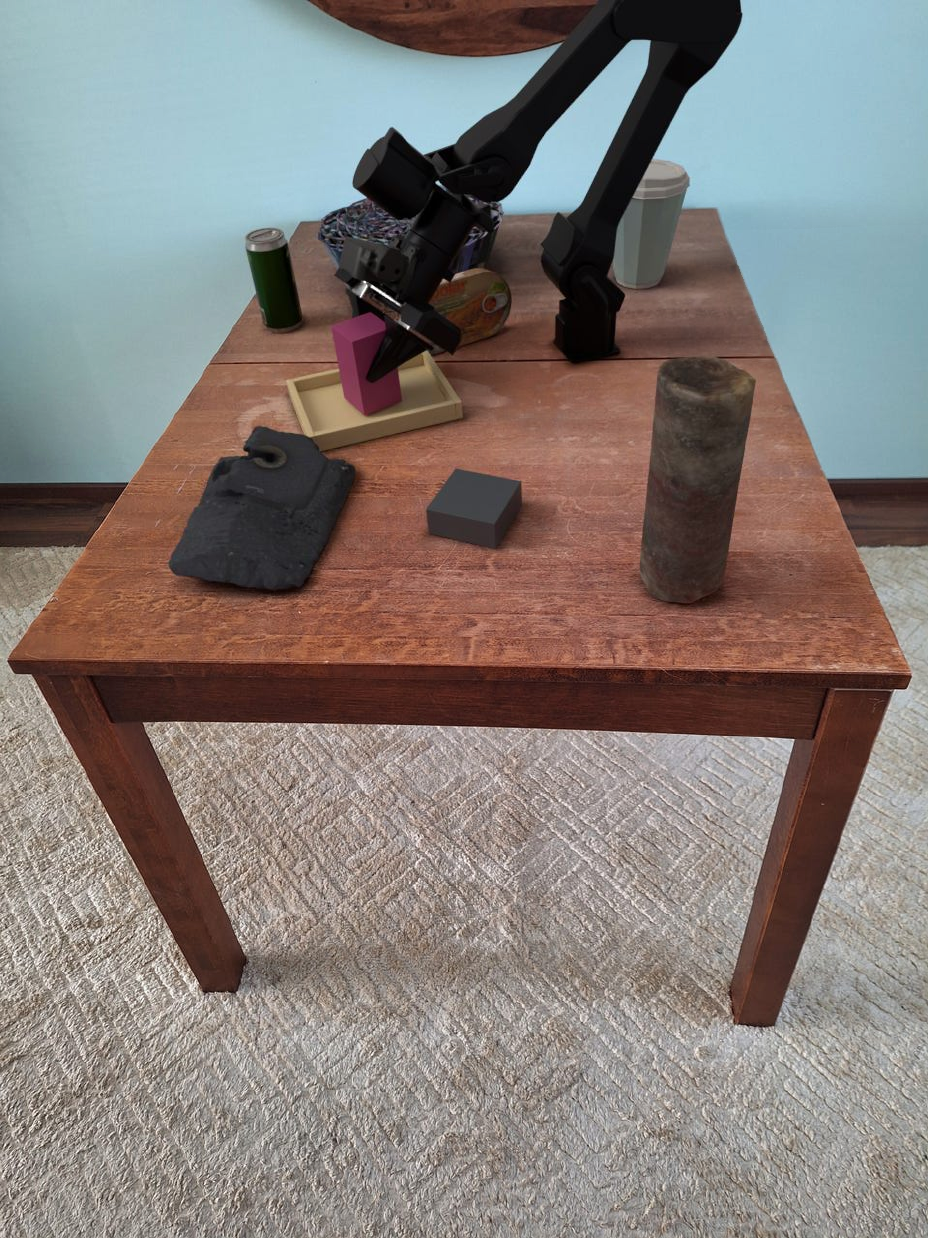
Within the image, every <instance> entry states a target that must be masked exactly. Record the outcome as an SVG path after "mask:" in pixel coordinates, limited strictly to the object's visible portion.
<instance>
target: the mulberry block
mask: <svg viewBox="0 0 928 1238" xmlns="http://www.w3.org/2000/svg"><path fill="white" fill-rule="evenodd" d="M330 328H331V334H332V338H333V344H334V349H335V356H336V359H337V360H336V361H337V365H338V369H339V372H340V377H341V383H342V388H343V393H344V398H345V399H346V400H347V401H348V402H349V403H350V404H352V405H353V406H354V407H355V408H356V409H357V410H358V411H360V412H361V413H362V414H363V415H364V416H366V415H368V414H371V413H373V412H376V411H378V410H381V409H383V408H386V407H388V406H391V405H394V404H396V403H399V402H401V401H402V396H401V388H400V381H399V373H398V367H397V368H396V369H394V370H393V371H391V372H390V373H388V374H387V375H385V376H384V377H382V378H381V379H379V380H378V381H376V382H375V383H371V382H369V381H367V380H366V375H367V373H368V370H369V368H370V365H371V363H372V361H373V359H374V357H375V355H376V353H377V351H378V349H379V347H380V345H381V343H382V341H383V339H384V337H385V334H386V329H385V322H384V321H382V320H381V319H380V318H378V317H377V316H375V315H374V314H372V313H371V312H369V313H366V314H363V315H360V316H358V317H355V318H352V317H351V318H349V319H346V320H343V321H341V322H337V323H335V324H332V325H330Z"/></svg>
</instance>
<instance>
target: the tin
mask: <svg viewBox="0 0 928 1238" xmlns="http://www.w3.org/2000/svg"><path fill="white" fill-rule="evenodd" d="M405 304H406V302H405V303H404V305H405ZM429 304H430V305H432V306H433V307H434V308H435V309H434V310H435V311H436V312H438V313H439V314H441V315H442V316H444V317H445V318H446V319H448V320H449V321H451V322H452V323H453V324H455V325H456V326H458V327H459V328H461V336H462V341H461V342H460V344H459V346H458V347H457V348H460V347H462V346H466V345H468V344H472V343H475V342H478V341H481V340H485V339H487V338H490V337H492V336H494V335H495V334H496V333H497V332H499V331H500V330H501V329H502V328H503V326H505V324H506V322H507V321H508V318H509V316H510V313H511V309H512V305H513V298H512V291H511V288H510V285H509V283H508V282H507V280H506V279H505V278H504V277H503V276H502V275H501V274H499V273H496V272H494V271H492V270H489V269H487V268H486V269H483V268H475V269H471V270H467V271H464V272H460V273H457V274H455V276H454V277H453V279H452V281H451V282H448V281H446V280H445V279H443V280H442V282H441V283H440V285H439V287H438V288H437V290H436V292H435V293H434V295H433V297H432V298H431V300H430V302H429ZM404 305H403V306H404ZM400 308H401V307H400ZM400 317H401V315H400V314H398V319H399V318H400ZM430 345H431V346H433V347H434V349H433V351H430V350H427V351H428V352H429V354H430V355H431V356H432V355H438V354H441V353H444V352H446V351H445V350H444V349H442V348H441V347H439V346H438V345H436V344H435V343H433V342H431V344H430Z"/></svg>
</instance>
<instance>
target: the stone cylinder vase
mask: <svg viewBox="0 0 928 1238" xmlns="http://www.w3.org/2000/svg"><path fill="white" fill-rule="evenodd" d="M756 384H757V381H756V379H755V378H754V377H753V375H751V374H750V372H747V371H746V369H741V368H738V366H736V365H735V364H732V363H730V362H728V361H727V360H726V359H723V358H719V357H718V356H712V355H708V356H707V355H705V356H704V355H699V356H694V355H693V356H683V357H678V358H670V359H667V360H665V361H663V362H662V363H661V364H660V365H659V367H658V370H657V374H656V385H655V397H654V409H653V420H652V431H651V443H650V444H651V445H650V453H649V462H648V463H649V465H648V466H649V467H648V475H647V484H646V495H645V504H644V513H643V523H642V534H641V543H640V557H639V574H640V577H641V579H642V581H643V583H644V585H645V587H646V589H647V590H648V593H649V594H650V595H651V596H653V597H654V598H656V599H658V600H661V601H663V602H669V603H670V602H671V603H680V604H681V603H682V604H691V603H695V602H696V601H698V600H700V599H701V598H705V597H707V596H708V595H711V594H713V593H715V592H716V591H718V589H719V588H720V586H722V585H723V581H724V578H725V574H726V568H727V562H728V557H729V550H730V544H731V539H732V538H731V537H732V531H733V525H734V518H735V510H736V504H737V499H738V492H739V486H740V479H741V474H742V470H743V464H744V457H745V453H746V452H745V451H746V445H747V438H748V433H749V430H750V429H749V428H750V423H751V417H752V409H753V403H754V395H755V390H756Z"/></svg>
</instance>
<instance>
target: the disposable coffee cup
mask: <svg viewBox="0 0 928 1238" xmlns="http://www.w3.org/2000/svg"><path fill="white" fill-rule="evenodd" d="M690 179H691V177H690V176H689V174H688V172H687V171H686V169H685V168H684V166H683V165H680V164H678V163H676V162H673V161H671V160H665V159H664V160H663V159H658V158H657V159H656V158H653V159H652V161H651V163H650V165H649V167H648V168H647V170H646V172H645V174H644V176H643V178H642V180H641V182H640V184H639V186H638V188H637V190H636V192H635V194H634V196H633V197H632V199H631V201H630V203H629V205H628V207H627V209H626V211H625V213H624V215H623V217H622V219H621V221H620V223H619V225H618V229H617V236H616V244H615V253H614V259H613V262H612V264H613V265H612V266H613V274H614V277H615V280H616V283H617V284H618V285H621V286H622V287H624V288H630V289H634V290H641V289H650V288H653V287H655V286H657V285H658V284H659V283H660V282H661V281H662V278H663V277H664V274H665V271H666V268H667V264H668V260H669V256H670V254H671V253H670V252H671V249H672V245H673V242H674V238H675V235H676V231H677V228H678V227H677V226H678V223H679V219H680V216H681V212H682V208H683V204H684V201H685V198H686V194H687V190H688V189H689V187H691V184H690V181H691V180H690Z"/></svg>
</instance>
